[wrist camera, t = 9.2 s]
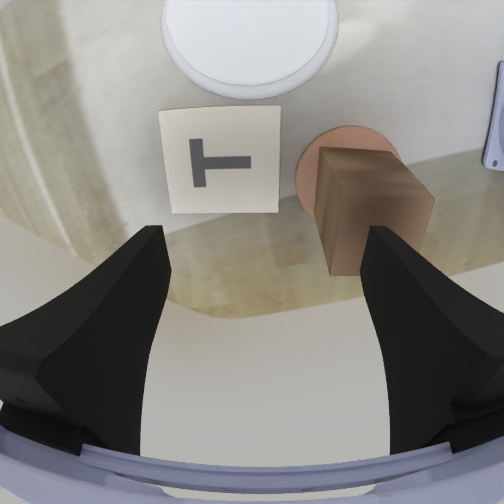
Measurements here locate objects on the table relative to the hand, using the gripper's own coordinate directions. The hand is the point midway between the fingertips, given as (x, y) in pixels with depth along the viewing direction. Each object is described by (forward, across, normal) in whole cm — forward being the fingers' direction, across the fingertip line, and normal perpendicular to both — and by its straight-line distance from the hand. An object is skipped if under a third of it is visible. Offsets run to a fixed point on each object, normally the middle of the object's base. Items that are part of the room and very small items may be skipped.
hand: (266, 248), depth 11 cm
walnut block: (+9, -5, +2) cm, 10 cm away
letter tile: (+9, +3, 0) cm, 10 cm away
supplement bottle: (+10, +1, -8) cm, 12 cm away
